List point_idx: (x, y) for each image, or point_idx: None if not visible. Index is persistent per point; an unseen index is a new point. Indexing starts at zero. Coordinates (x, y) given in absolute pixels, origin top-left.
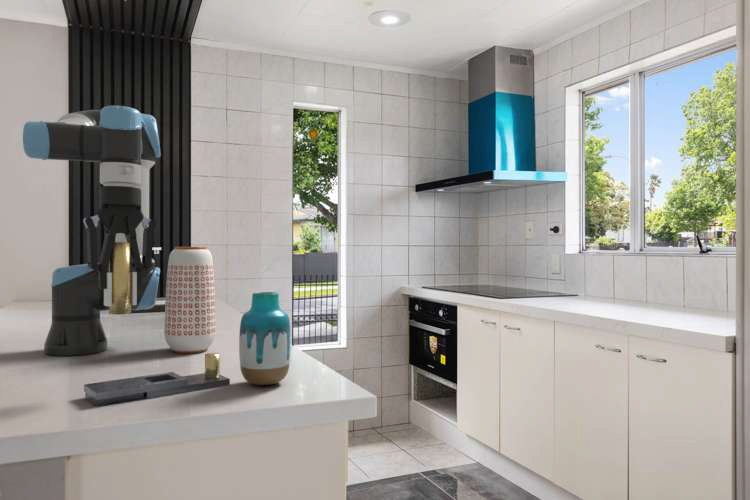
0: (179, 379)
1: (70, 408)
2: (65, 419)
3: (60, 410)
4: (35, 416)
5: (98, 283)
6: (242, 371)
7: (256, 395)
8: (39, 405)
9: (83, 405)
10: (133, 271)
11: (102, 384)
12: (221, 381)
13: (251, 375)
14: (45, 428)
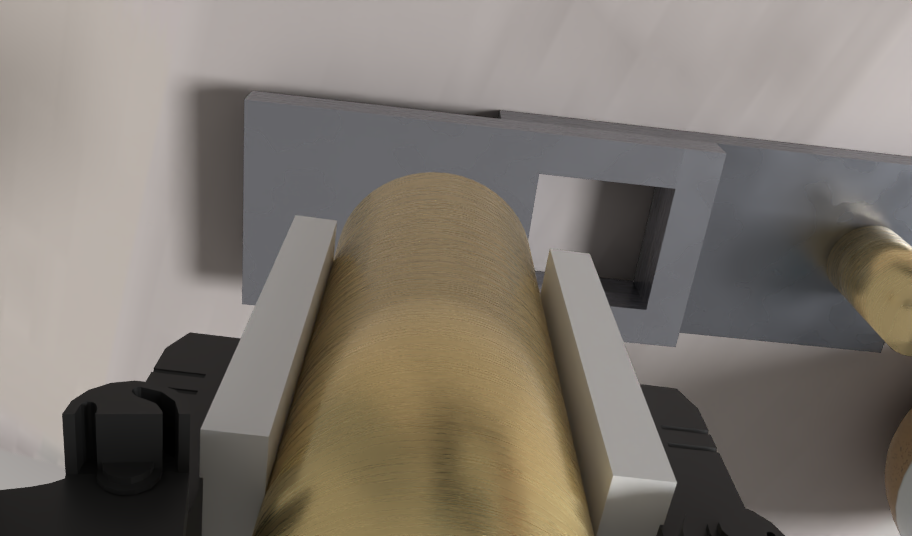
0: (643, 327)
1: (163, 219)
2: (115, 351)
3: (122, 220)
4: (21, 237)
5: (154, 369)
6: (901, 450)
7: (798, 530)
8: (54, 71)
9: (221, 212)
10: (658, 533)
11: (320, 166)
12: (834, 343)
13: (887, 496)
14: (37, 403)
